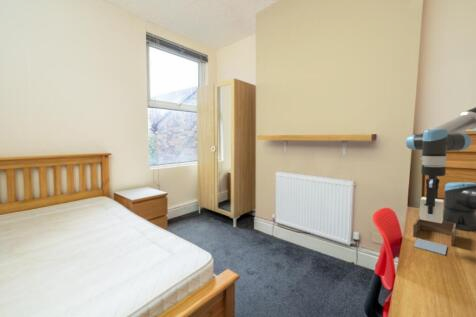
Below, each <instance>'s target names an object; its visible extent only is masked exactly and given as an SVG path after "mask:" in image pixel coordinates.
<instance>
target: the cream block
mask: <svg viewBox="0 0 476 317" xmlns="http://www.w3.org/2000/svg"><path fill="white" fill-rule="evenodd" d="M419 204H420V205H419V210H420V219H421V220H426V206H425V205H424V204H426V197H425V196H421V197H420V201H419ZM443 210H444V199H441V198H437V199H435V222H437V223H442V222H443ZM431 222H432V221H431Z"/></svg>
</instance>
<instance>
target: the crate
mask: <svg viewBox="0 0 476 317" xmlns="http://www.w3.org/2000/svg"><path fill="white" fill-rule="evenodd" d="M412 226H413V231H412V233H413V234H412V237H413V238H415V237H416V236H417V234H418V232H419V231H420V229H422V230H426V231H431V232H436V233H441V234H444V235H449V236H451V242H450V243H451V244H450V245H451V247H454V244H455V239H456V230H457V229H456V223H451V222H445V221H443V222H442V223H437V222H431V221H426V220H421V219H420V217H419V216H418V217H417V219H416V220H415V221H414V223H413V225H412Z"/></svg>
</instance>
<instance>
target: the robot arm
mask: <svg viewBox="0 0 476 317" xmlns="http://www.w3.org/2000/svg"><path fill="white" fill-rule="evenodd" d="M475 129H476V106H475V107H473V108H471V109H469V110H465V111H463V112H461V113H460V114H459V115H458V116H457V117H455V118H453V119H450V120H449V121H446V122H444V123H442V124H440V125H438V126H436V127H434V128H431V129H425V130H424V131H423V132H422V133H420V134H411V135H409V136H407V137H406V140H405V144H406V147H407V149H410V150H415V151H422V156H421V157H420V158H419V159H420V161H421V164H422V166H421V173H420V174H422V175H424V176H428V178H426V179H425V183H426V184H425V185H426V187H425V188H426V189H425V190H426V193H425V194H426V204H424V205H425V206H426V221H432V222H435V199H438V195H439V194H438V192H439V186H440V179H439V178H438V177H444V176H446V173H447V172H446V171H447V170H446V167H445V166H447V152H460V151H464V150H467V149H468V148H470V146H471V145H472V138H471V136H469V135H468V134H466V133H464V132H465V131H467V130H475ZM443 200H444V209H443V221H445V222H451V223H456V230H461V231H469V232H470V231H475V232H476V182H472V181H471V182H470V181H469V182H468V181H466V182H465V181H456V182H453V181H452V182H447V183H446V184H445V185H444V199H443Z"/></svg>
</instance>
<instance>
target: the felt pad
mask: <svg viewBox="0 0 476 317" xmlns="http://www.w3.org/2000/svg"><path fill="white" fill-rule="evenodd" d="M412 247H413V248H417V249H420V250H424V251H427V252H431V253H435V254H437V255H441V256H446V255H447V254H446V253H447V249H448V245H445V244H442V243H438V242H433V241H430V240H426V239H421V238H417V239H416V241H415V242H414V244H413V245H412Z"/></svg>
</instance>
